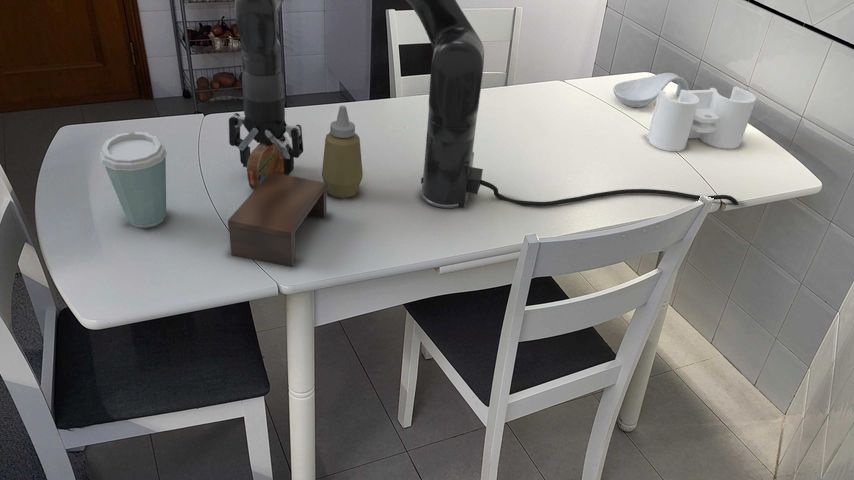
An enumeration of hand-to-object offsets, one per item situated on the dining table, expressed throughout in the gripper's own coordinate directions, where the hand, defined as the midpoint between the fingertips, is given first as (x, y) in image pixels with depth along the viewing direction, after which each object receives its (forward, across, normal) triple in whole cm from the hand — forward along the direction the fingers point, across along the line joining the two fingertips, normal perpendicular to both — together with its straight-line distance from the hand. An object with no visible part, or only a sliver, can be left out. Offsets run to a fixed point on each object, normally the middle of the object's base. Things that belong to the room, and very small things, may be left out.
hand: (267, 169), depth 148 cm
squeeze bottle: (+3, +15, +1) cm, 15 cm away
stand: (+2, +10, -18) cm, 20 cm away
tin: (+3, 0, 0) cm, 3 cm away
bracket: (+2, +89, +55) cm, 105 cm away
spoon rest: (+2, +78, +77) cm, 110 cm away
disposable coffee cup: (+3, -15, -21) cm, 26 cm away
